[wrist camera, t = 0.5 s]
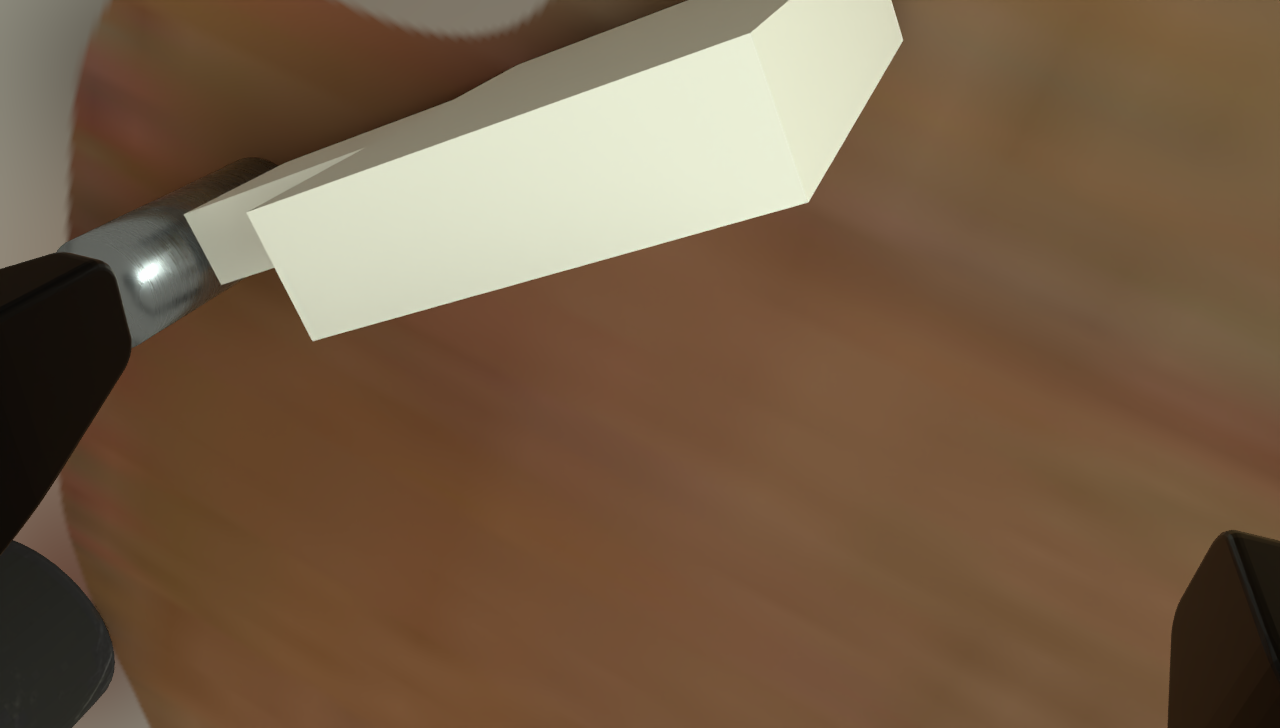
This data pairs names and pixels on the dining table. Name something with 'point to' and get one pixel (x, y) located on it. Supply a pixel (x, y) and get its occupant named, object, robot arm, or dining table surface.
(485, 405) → the dining table surface
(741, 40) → the gate
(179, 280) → the hinge post
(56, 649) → the travel mug
